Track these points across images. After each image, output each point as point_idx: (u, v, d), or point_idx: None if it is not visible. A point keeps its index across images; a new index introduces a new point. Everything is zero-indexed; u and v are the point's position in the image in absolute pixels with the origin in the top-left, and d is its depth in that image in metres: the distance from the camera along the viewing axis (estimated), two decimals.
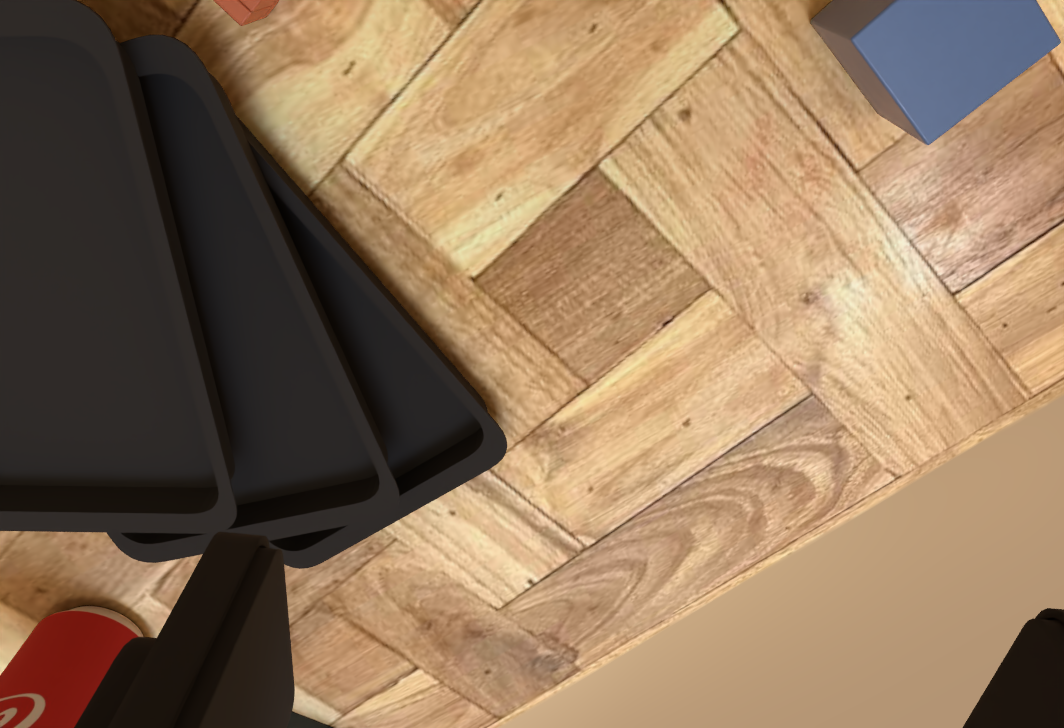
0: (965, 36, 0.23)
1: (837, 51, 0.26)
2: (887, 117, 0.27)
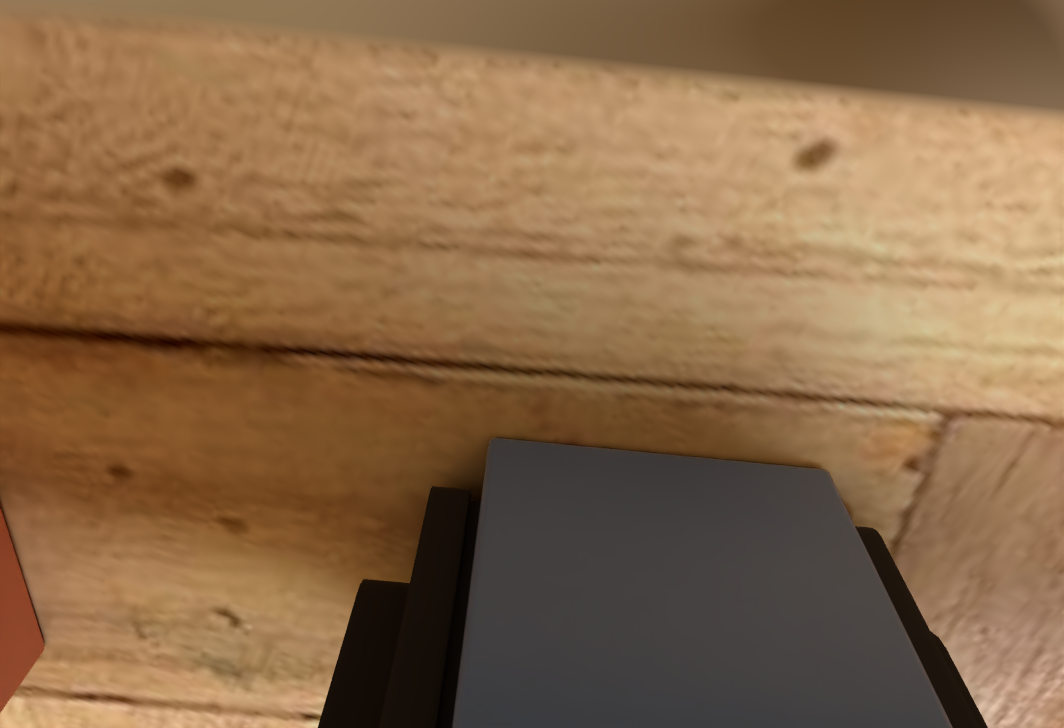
0: None
1: None
2: None
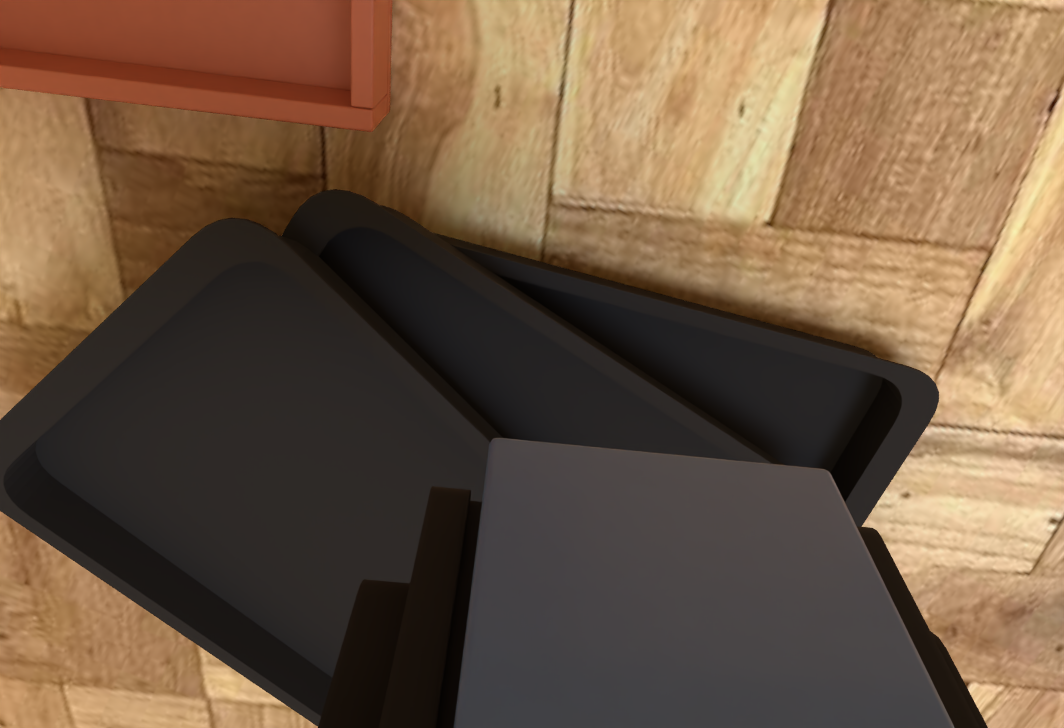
0: None
1: None
2: None
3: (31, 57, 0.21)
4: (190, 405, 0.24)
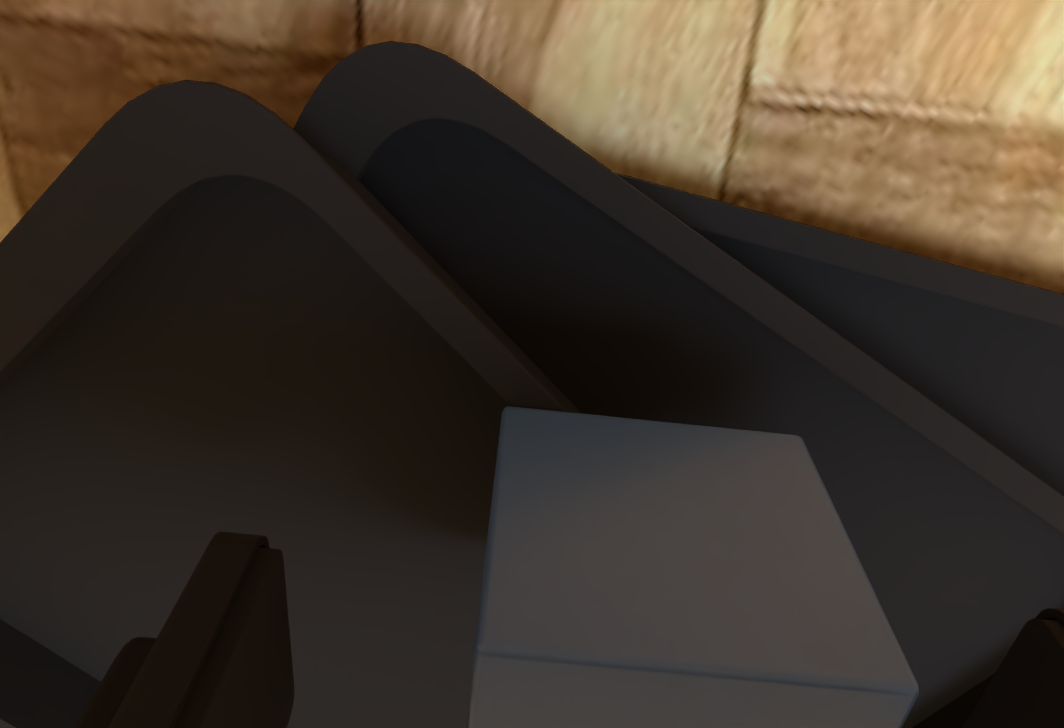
0: None
1: None
2: None
3: None
4: (135, 452, 0.14)
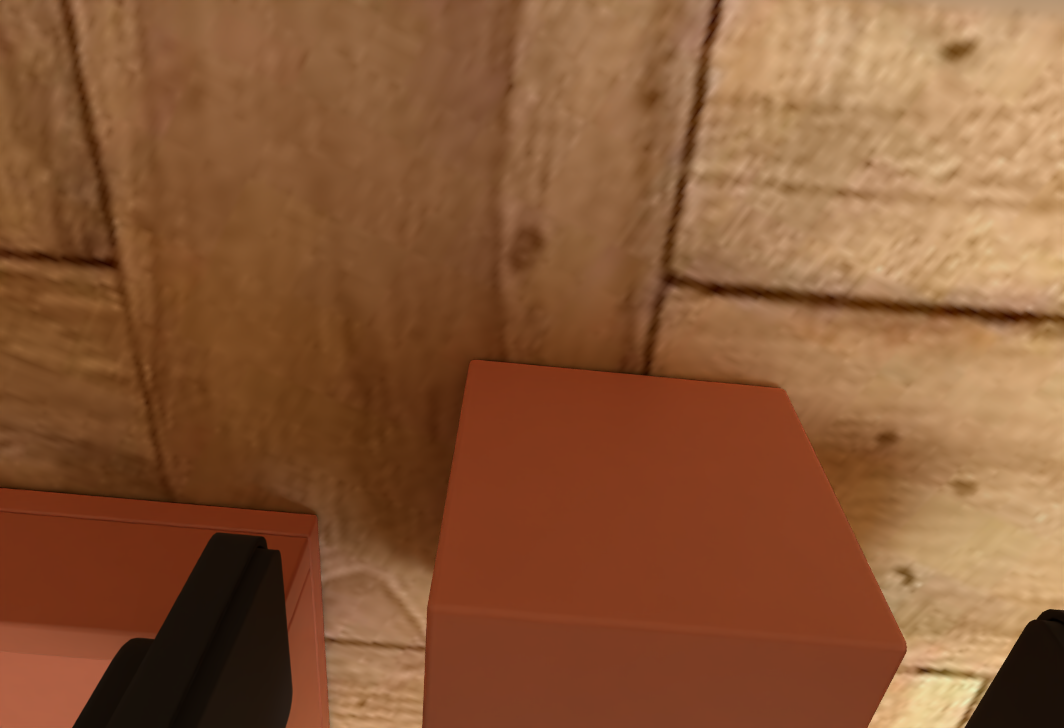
0: None
1: None
2: None
3: None
4: None
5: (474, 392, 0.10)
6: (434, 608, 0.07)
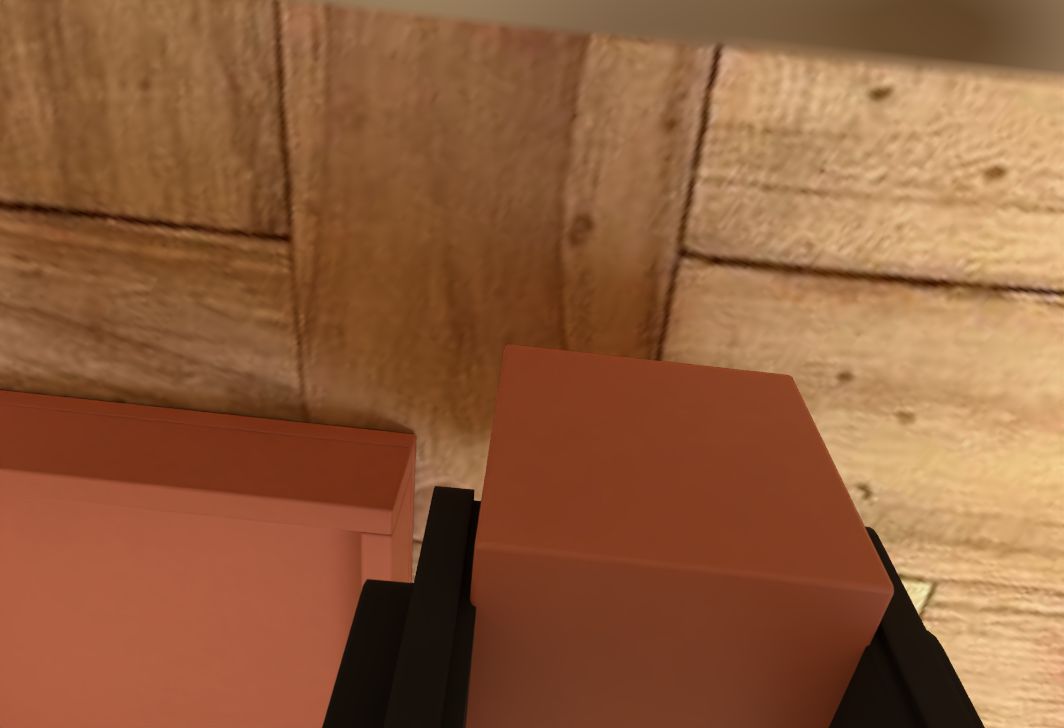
0: None
1: None
2: None
3: None
4: None
5: (510, 371, 0.11)
6: (481, 545, 0.08)
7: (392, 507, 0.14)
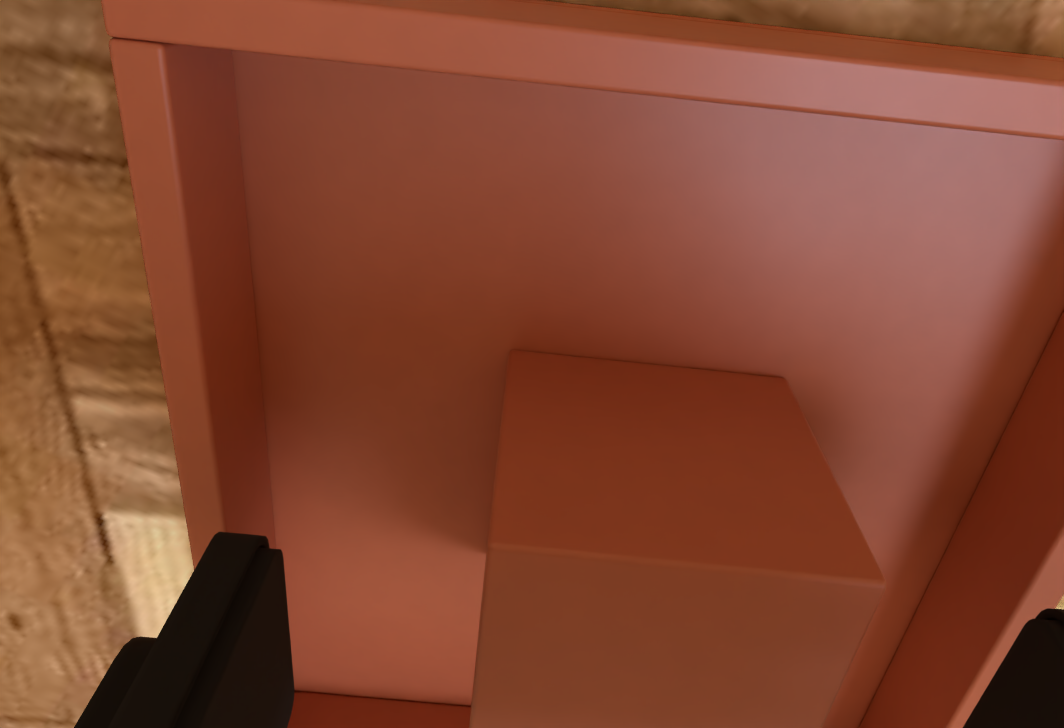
0: None
1: None
2: None
3: None
4: None
5: (515, 376, 0.11)
6: (493, 545, 0.08)
7: None
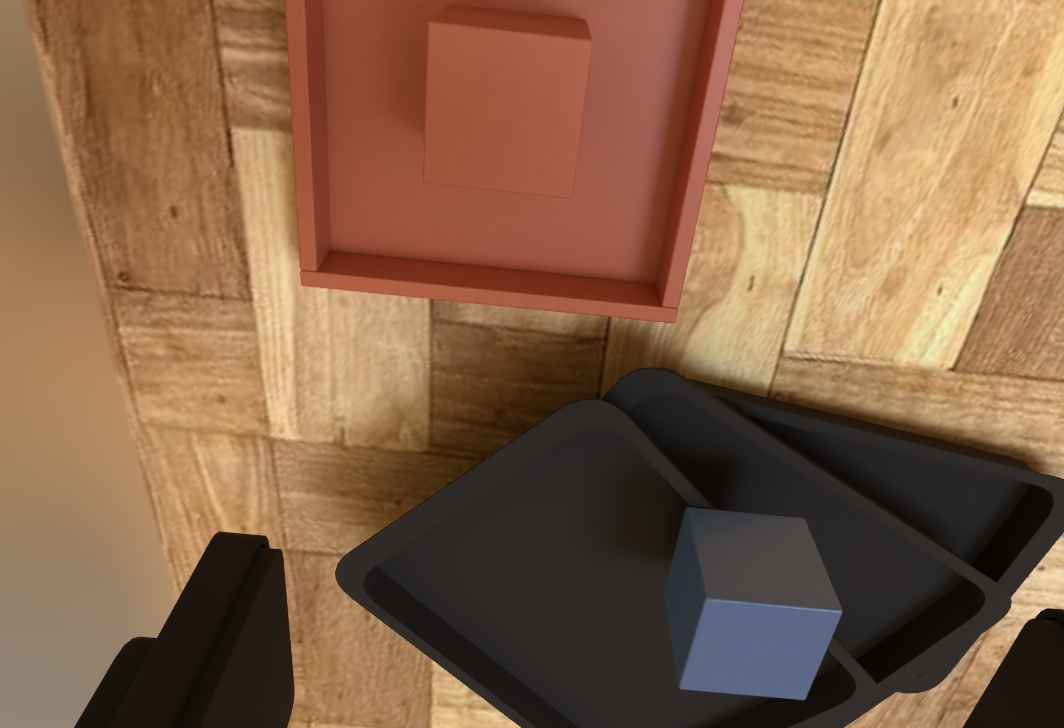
0: (762, 646, 0.25)
1: None
2: None
3: (412, 267, 0.28)
4: (503, 517, 0.31)
5: (449, 7, 0.24)
6: (430, 21, 0.21)
7: None
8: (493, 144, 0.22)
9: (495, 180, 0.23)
